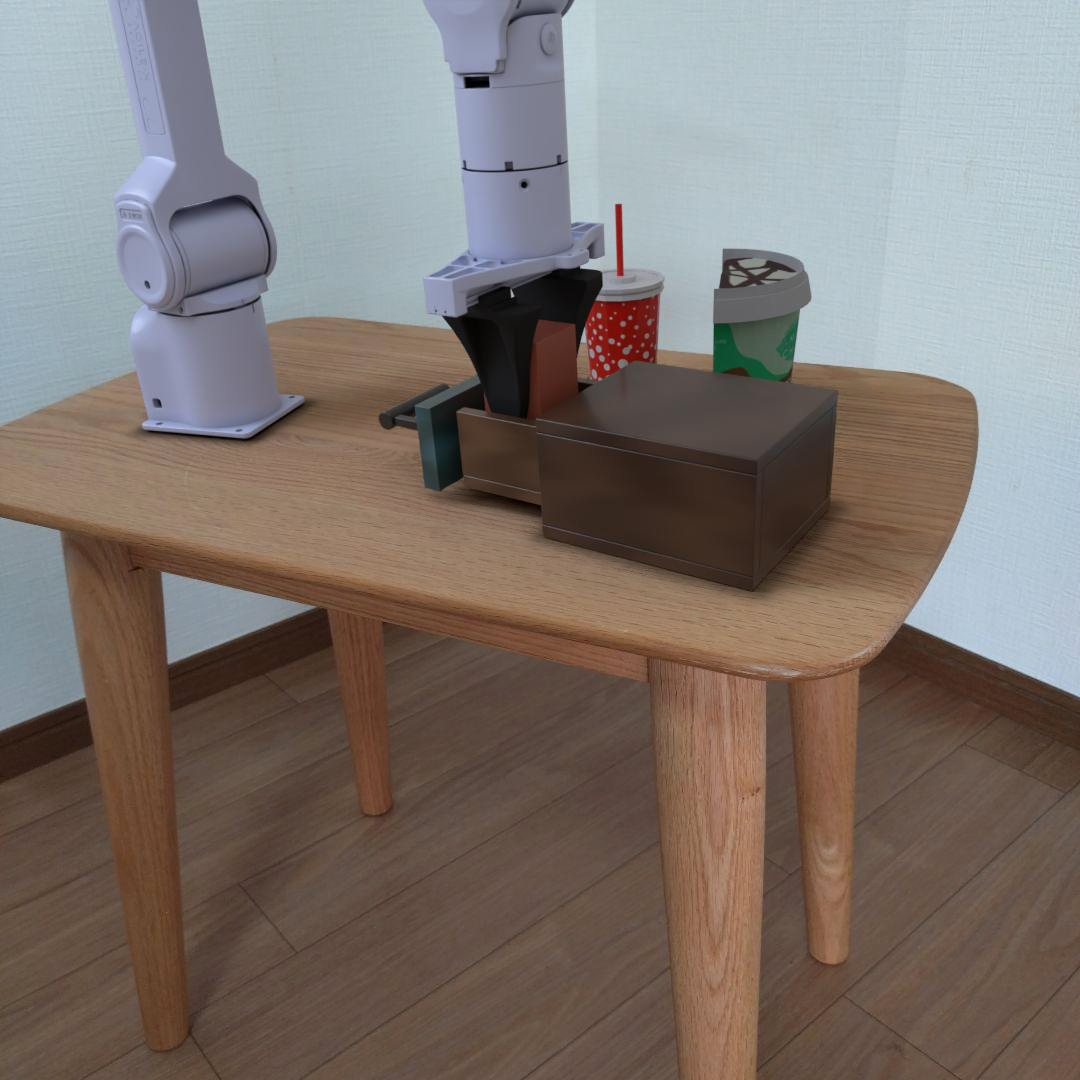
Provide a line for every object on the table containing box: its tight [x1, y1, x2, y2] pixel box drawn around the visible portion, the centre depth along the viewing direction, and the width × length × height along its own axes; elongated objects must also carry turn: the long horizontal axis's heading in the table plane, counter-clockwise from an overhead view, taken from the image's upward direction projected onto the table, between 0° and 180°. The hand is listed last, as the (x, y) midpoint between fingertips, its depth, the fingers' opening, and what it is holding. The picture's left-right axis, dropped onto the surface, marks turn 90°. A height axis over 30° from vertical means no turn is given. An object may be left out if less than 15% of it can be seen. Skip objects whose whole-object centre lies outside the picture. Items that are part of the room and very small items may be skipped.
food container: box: [712, 248, 813, 383], centre depth 71 cm, size 12×6×10 cm, turn 168°
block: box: [484, 320, 579, 421], centre depth 61 cm, size 4×4×6 cm
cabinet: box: [535, 361, 839, 592], centre depth 57 cm, size 13×11×7 cm
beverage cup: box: [584, 203, 666, 381], centre depth 73 cm, size 6×6×14 cm
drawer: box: [378, 374, 599, 506], centre depth 63 cm, size 16×9×5 cm, turn 56°
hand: (531, 405), depth 61 cm, fingers closed on block, 4 cm apart
